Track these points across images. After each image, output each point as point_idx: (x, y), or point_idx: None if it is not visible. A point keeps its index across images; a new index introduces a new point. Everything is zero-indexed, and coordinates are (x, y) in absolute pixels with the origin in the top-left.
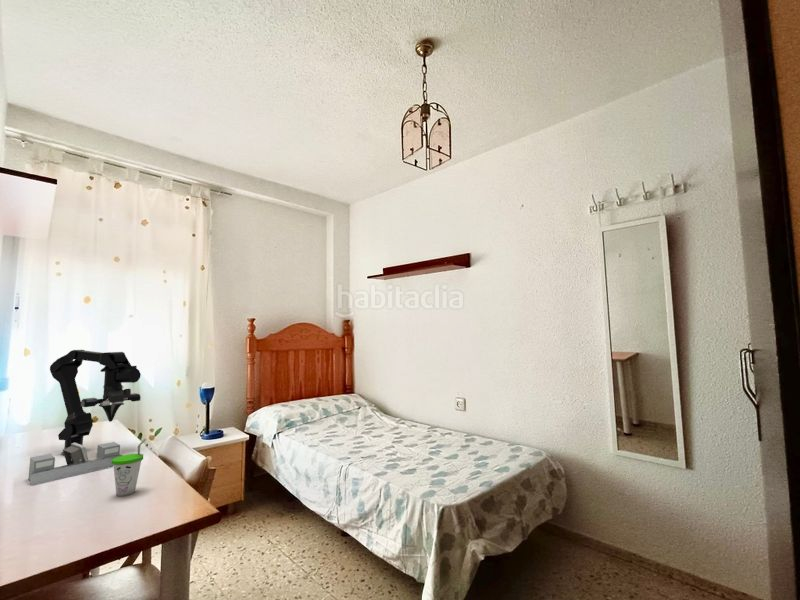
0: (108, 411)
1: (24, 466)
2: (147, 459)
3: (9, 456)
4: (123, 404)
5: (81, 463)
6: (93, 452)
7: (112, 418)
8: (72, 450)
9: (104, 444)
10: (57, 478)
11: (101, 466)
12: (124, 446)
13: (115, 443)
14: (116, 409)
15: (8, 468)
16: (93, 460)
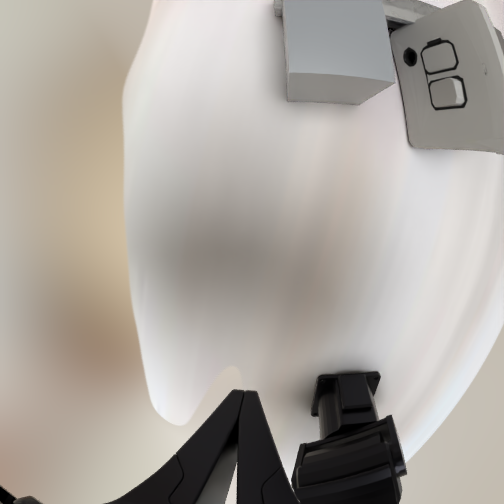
0: (276, 499)
1: (477, 332)
2: (172, 10)
3: (420, 444)
4: (28, 496)
5: (437, 8)
6: (298, 352)
7: (226, 409)
8: (502, 51)
9: (359, 47)
10: None
11: None
12: (184, 344)
13: (293, 13)
14: (153, 493)
15: (492, 341)
16: (397, 2)
